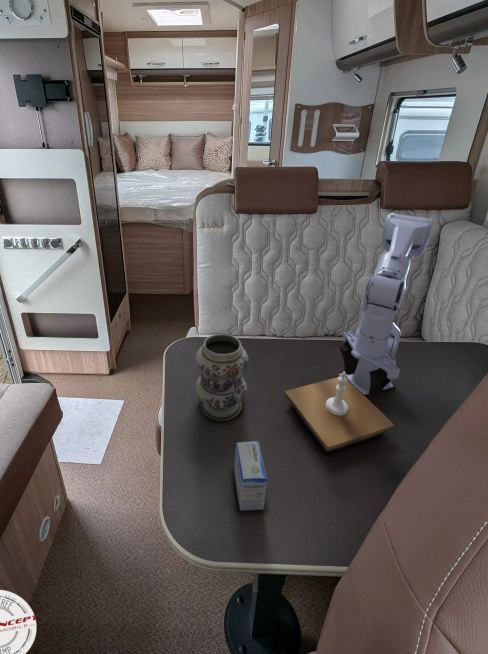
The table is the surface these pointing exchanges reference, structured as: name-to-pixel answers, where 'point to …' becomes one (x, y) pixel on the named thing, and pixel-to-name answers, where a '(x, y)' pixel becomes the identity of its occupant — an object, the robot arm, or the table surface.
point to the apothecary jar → (221, 376)
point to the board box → (337, 428)
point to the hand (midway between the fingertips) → (361, 384)
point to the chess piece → (338, 398)
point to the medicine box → (250, 476)
